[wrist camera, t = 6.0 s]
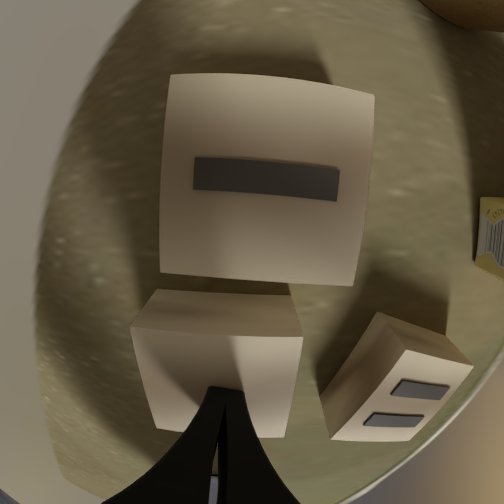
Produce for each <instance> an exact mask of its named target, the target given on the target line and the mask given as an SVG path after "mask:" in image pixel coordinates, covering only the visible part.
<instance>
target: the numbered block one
mask: <svg viewBox="0 0 504 504" xmlns="http://www.w3.org/2000/svg"><path fill="white" fill-rule="evenodd" d="M373 130H374V95H372V94H368V93H365V92H361V91H357V90H352V89H348V88H344V87H339V86H334V85H329V84H324V83H318V82H312V81H306V80H299V79H292V78H284V77H275V76H264V75H251V74H228V73H196V74H174V75H171V76H170V83H169V90H168V97H167V106H166V114H165V124H164V135H163V147H162V161H161V179H160V211H159V250H160V272H161V273H172V274H182V275H193V276H205V277H216V278H229V279H242V280H255V281H269V282H285V283H301V284H318V285H338V286H353V282H354V277H355V272H356V267H357V262H358V257H359V252H360V246H361V240H362V234H363V228H364V221H365V214H366V207H367V199H368V191H369V182H370V172H371V161H372V147H373Z"/></svg>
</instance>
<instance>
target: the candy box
mask: <svg viewBox="0 0 504 504" xmlns="http://www.w3.org/2000/svg"><path fill="white" fill-rule="evenodd" d="M475 266H476V267H477V268H479V269H481V270H483V271H485V272H487V273H489V274H491V275H492V276H494V277H496V278H498V279H500V280H501V281H503V282H504V197H481V198H480V216H479V231H478V243H477V253H476V259H475Z"/></svg>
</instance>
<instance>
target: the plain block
mask: <svg viewBox="0 0 504 504" xmlns="http://www.w3.org/2000/svg"><path fill="white" fill-rule="evenodd" d="M130 331H131V336H132V341H133V346H134V350H135V354H136V359H137V363H138V367H139V371H140V375H141V379H142V382H143V386H144V389H145V393H146V396H147V400H148V403H149V406H150V410H151V413H152V416H153V419H154V422H155V425H156V428H160V429H165V430H172V431H178V432H184V431H185V430H186V428H187V427H188V425H189V424H190V422H191V421H192V419H193V418H194V416H195V414H196V413H197V411H198V409H199V407H200V406H201V404H202V402H203V400H204V397H205V395H206V392H207V389H208V387H210V386H215V387H221V388H227V389H234V390H241V391H243V392H244V393H245V398H246V403H247V407H248V411H249V414H250V418H251V421H252V424H253V426H254V429H255V431H256V434H257V436H258V438H277V437H284V434H285V430H286V426H287V421H288V416H289V412H290V407H291V402H292V397H293V392H294V387H295V382H296V377H297V372H298V366H299V360H300V355H301V349H302V343H303V334H302V330H301V327H300V323H299V320H298V317H297V313H296V310H295V307H294V303H293V300H292V297H291V295H260V294H234V293H214V292H196V291H180V290H166V289H156V291H155V292H154V293H153V295H152V296H151V297H150V299H149V300H148V301H147V303H146V304H145V305H144V307H143V308H142V310H141V311H140V312H139V314H138V315H137V316H136V318H135V319H134V321H133V322H132V323H131V325H130Z"/></svg>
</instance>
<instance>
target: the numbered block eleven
mask: <svg viewBox="0 0 504 504" xmlns="http://www.w3.org/2000/svg"><path fill="white" fill-rule="evenodd" d="M473 367H474V366H473V365H472V364H471V362H470V361H469V360H468V359H467V358H466V357H465V356H464V355H463V354H462V353H461V352H460V350H459V349H458V348H457V347H456V346H455V345H454V344H453V343H452V342H451V341H450V340H449V339H448V338H447V337H446V336H445V335H442V334H439V333H436V332H433V331H430V330H428V329H425V328H422V327H419V326H416V325H413V324H411V323H408V322H405V321H402V320H399V319H397V318H394V317H391V316H388V315H385V314H383V313H380V312H376V314H375V316H374V317H373V319H372V321H371V322H370V324H369V326H368V327H367V329H366V330H365V332H364V334H363V335H362V337H361V338H360V340H359V341H358V343H357V345H356V346H355V348H354V349H353V351H352V352H351V354H350V355H349V356H348V358H347V359H346V361H345V362H344V364H343V365H342V367H341V368H340V369H339V371H338V372H337V374H336V375H335V376H334V378H333V379H332V380H331V382H330V383H329V384H328V386H327V387H326V388H325V390H324V391H323V392H322V394H321V395H320V396H319V397H320V401H321V404H322V408H323V412H324V416H325V420H326V424H327V428H328V432H329V436H330V439H333V440H347V441H409V440H410V439H411V438H412V437H413V436H414V435H415V434H416V433H417V432H418V431H419V430H420V429H421V428H422V427H423V426H424V425H425V424H426V423H427V422H428V421H429V420H430V419H431V418H432V417H433V416H434V415H435V414H436V413H437V411H438V410H439V409H440V408H441V407H442V406H443V405H444V404H445V402H446V401H447V400H448V399H449V398H450V397H451V395H452V394H453V393H454V392H455V390H456V389H457V388H458V387H459V385H460V384H461V383H462V382H463V380H464V379H465V378H466V376H467V375H468V374H469V372H470V371H471V370H472V368H473Z"/></svg>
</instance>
